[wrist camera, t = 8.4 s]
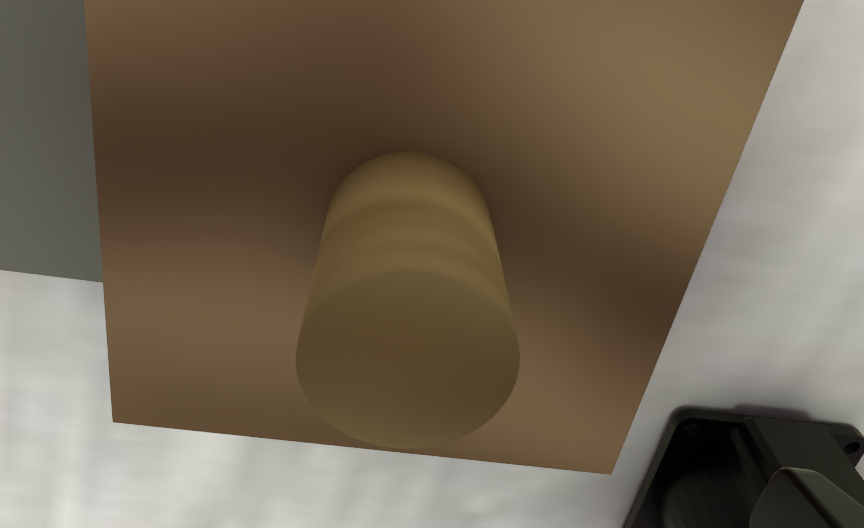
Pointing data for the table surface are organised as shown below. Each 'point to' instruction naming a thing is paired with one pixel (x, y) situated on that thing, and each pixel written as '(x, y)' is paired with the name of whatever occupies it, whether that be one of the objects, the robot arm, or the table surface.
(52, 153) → the rubber mat
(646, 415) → the table surface
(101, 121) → the walnut lid
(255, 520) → the table surface
